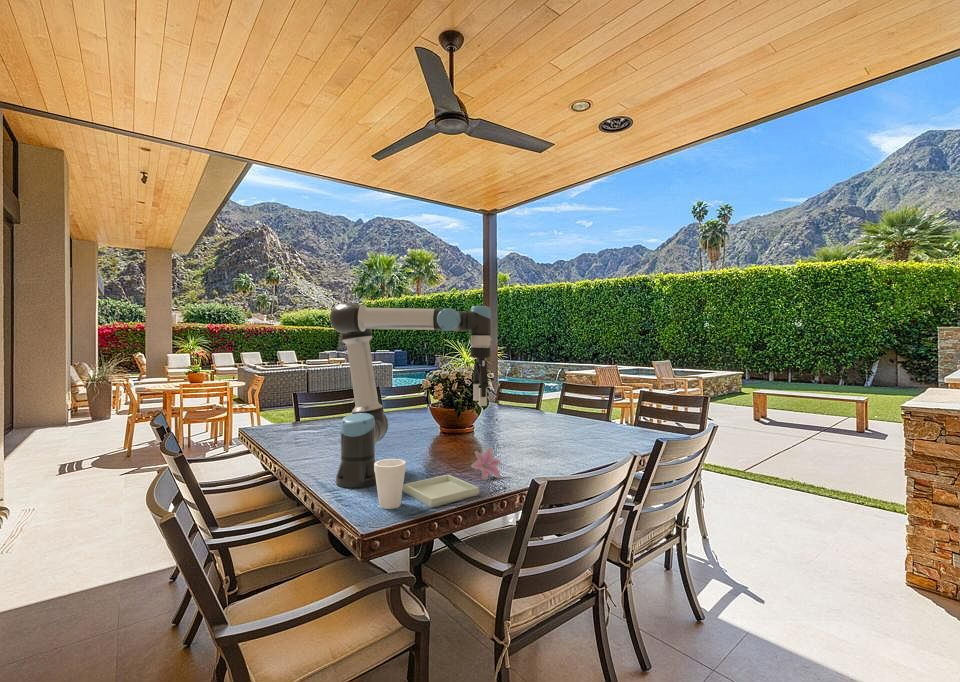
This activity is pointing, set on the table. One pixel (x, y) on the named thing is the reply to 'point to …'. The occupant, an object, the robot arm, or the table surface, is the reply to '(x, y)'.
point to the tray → (440, 490)
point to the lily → (487, 464)
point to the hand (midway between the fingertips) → (479, 403)
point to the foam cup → (390, 482)
